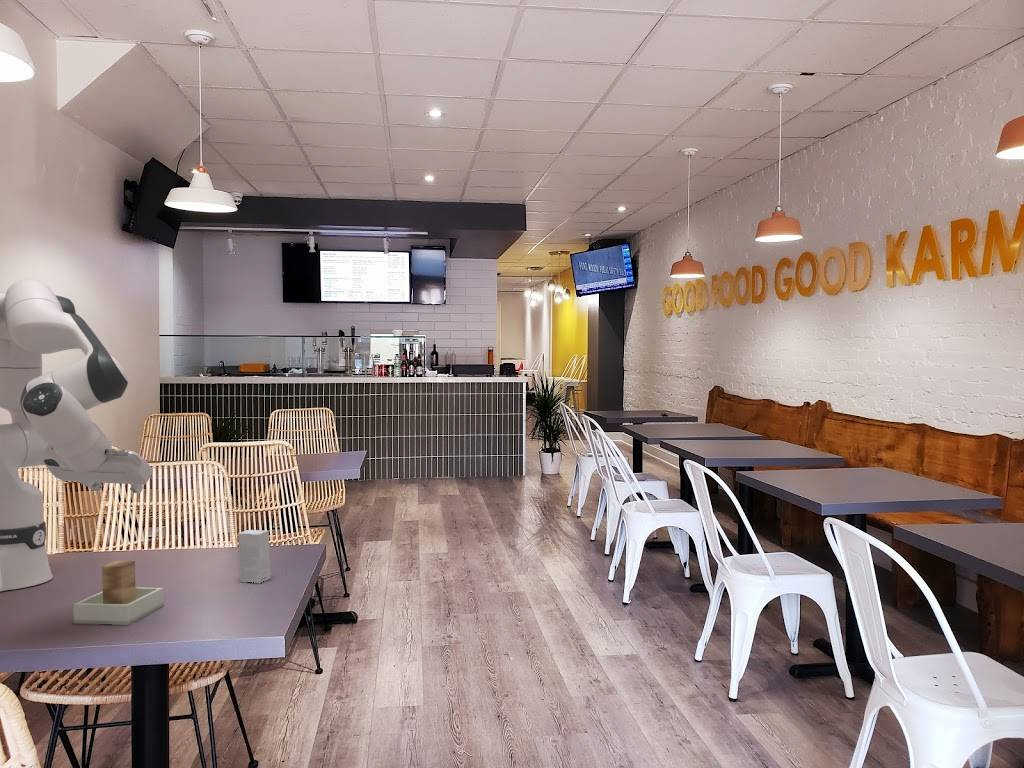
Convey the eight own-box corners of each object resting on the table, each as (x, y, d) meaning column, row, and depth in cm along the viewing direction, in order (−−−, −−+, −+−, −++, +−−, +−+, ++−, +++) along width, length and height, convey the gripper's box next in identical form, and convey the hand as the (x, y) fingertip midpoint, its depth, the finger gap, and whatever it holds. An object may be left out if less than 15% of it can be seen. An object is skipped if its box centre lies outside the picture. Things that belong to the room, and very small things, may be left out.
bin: (73, 623, 151) (73, 604, 151) (112, 604, 163) (112, 586, 162) (128, 625, 149) (127, 605, 149) (163, 606, 161) (163, 587, 161)
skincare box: (270, 579, 181) (269, 530, 180) (259, 584, 177) (258, 534, 176) (249, 577, 182) (248, 529, 182) (238, 582, 178) (237, 532, 178)
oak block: (103, 613, 154) (101, 566, 154) (117, 607, 158) (115, 560, 158) (122, 614, 153) (121, 566, 153) (136, 607, 158) (134, 561, 158)
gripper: (140, 439, 148) (169, 479, 158) (48, 435, 151) (82, 475, 161) (125, 464, 144) (156, 504, 154) (31, 460, 146) (67, 499, 157)
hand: (118, 489), depth 157 cm, fingers open, 8 cm apart
